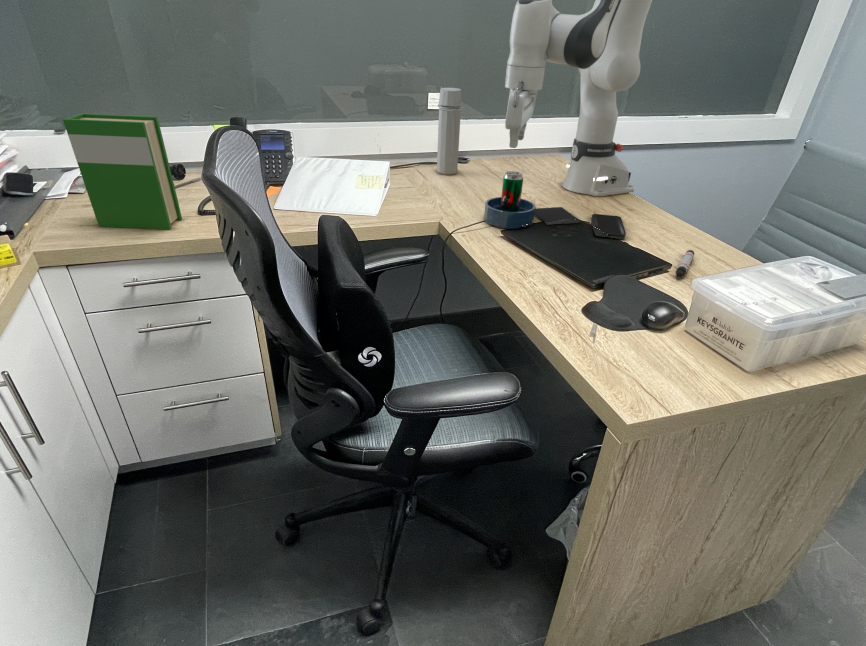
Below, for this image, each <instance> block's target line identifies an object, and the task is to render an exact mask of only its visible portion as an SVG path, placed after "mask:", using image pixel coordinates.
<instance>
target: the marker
mask: <svg viewBox="0 0 866 646" xmlns="http://www.w3.org/2000/svg"><path fill="white" fill-rule="evenodd" d="M694 257H695V251H694V250H693V249H689V250H687V251H686V252H685V253H684V255H683V256H682V259H681V261H680V262H679V265H678V267H677V268H676V270H675V275H676V278H679V279H680V278H683V277H684V276H685V275H686V273H687V272H688V269H689V267H690V265H691V263H692V261H693V259H694Z"/></svg>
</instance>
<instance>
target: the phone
mask: <svg viewBox="0 0 866 646" xmlns="http://www.w3.org/2000/svg"><path fill="white" fill-rule="evenodd" d="M590 220H591V227H592V226H594V227H596V228H598V229H600V230H601V231H602V232H604V233H605V234H608V236H611V237H612V238H611V239H613V238H615V239H614V240H625V238H626V235H627V234H626V230H625V226H624V223H623V218H622V217H621V216H619V215H612V214H611V215H610V214H601V213H592V214H591V218H590Z"/></svg>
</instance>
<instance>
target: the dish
mask: <svg viewBox="0 0 866 646" xmlns="http://www.w3.org/2000/svg"><path fill="white" fill-rule="evenodd" d="M501 197H502V196H496V197H491V198H489V199H487V200H486V201H485V202H484V211H483V221H485V223H487V224H489V225H491V226H494V227H496V228H502V229H508V230H509V229H512V230H515V229H520V228H519V227H522V225H524V226H526V224H528V225H530V226H532V225H533V224H534V223H535V217H536V216H535V209H536V208H537V207H536V206H537V205H536V204H535V203H534V202H533V201H531V200H528V199H526V198H521V201H520V209H519V212H506V211H500V206H501Z"/></svg>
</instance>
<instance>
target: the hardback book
mask: <svg viewBox="0 0 866 646" xmlns="http://www.w3.org/2000/svg"><path fill="white" fill-rule="evenodd" d="M62 121H63V124H64V127H65V131H66V133H67V136H68V140H69V143H70V145H71V148H72V151H73V153H74V157H75V160H76V164H77V166H78V169H79V172H80V174H81V178H82V181H83V184H84V187H85V189H86V193H87V196H88V198H89V201H90V204H91V207H92V211H93V214H94V218H95V220H96V222H97V225H98V227H103V228H104V227H106V228H126V229H127V228H128V229H148V230H150V229H151V230H172V223H174V222H175V221H182V220H183V217H182V212H181V208H180V204H179V200H178V196H177V192H176V187H175V183H174V179H173V175H172V171H171V165H170V163H169V158H168V154H167V151H166V146H165V142H164V138H163V134H162V130H161V125H160V121H159V117H158V116H149V115H131V114H130V115H129V114H128V115H127V114H109V113H108V114H106V113H105V114H104V113H84V112H83V113H78V114H74V115H72V116H69V117H65V118H63V119H62Z"/></svg>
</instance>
